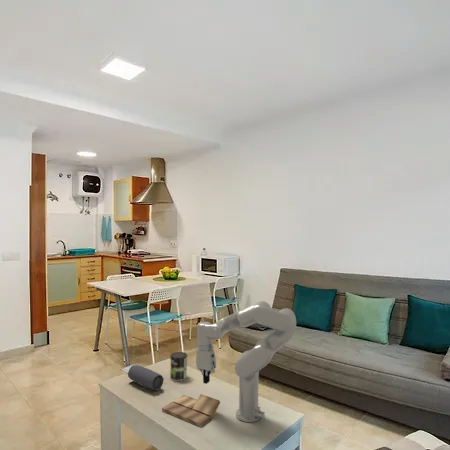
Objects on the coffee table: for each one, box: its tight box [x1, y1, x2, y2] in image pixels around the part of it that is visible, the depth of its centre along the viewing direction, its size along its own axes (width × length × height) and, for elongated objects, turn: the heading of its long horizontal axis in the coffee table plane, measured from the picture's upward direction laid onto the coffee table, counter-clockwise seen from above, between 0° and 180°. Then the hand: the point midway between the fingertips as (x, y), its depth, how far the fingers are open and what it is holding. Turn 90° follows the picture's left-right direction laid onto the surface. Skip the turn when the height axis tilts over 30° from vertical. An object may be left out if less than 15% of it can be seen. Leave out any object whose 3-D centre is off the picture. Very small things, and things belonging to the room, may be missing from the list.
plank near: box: [192, 393, 221, 419], centre depth 176 cm, size 12×8×2 cm
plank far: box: [173, 394, 198, 411], centre depth 184 cm, size 12×8×2 cm
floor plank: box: [161, 401, 212, 428], centre depth 173 cm, size 25×8×2 cm, turn 56°
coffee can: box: [169, 351, 188, 382], centre depth 217 cm, size 10×10×14 cm
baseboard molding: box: [119, 363, 165, 381], centre depth 220 cm, size 31×3×12 cm
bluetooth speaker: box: [127, 364, 164, 391], centre depth 205 cm, size 23×9×10 cm, turn 51°
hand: (206, 382), depth 180 cm, fingers closed
